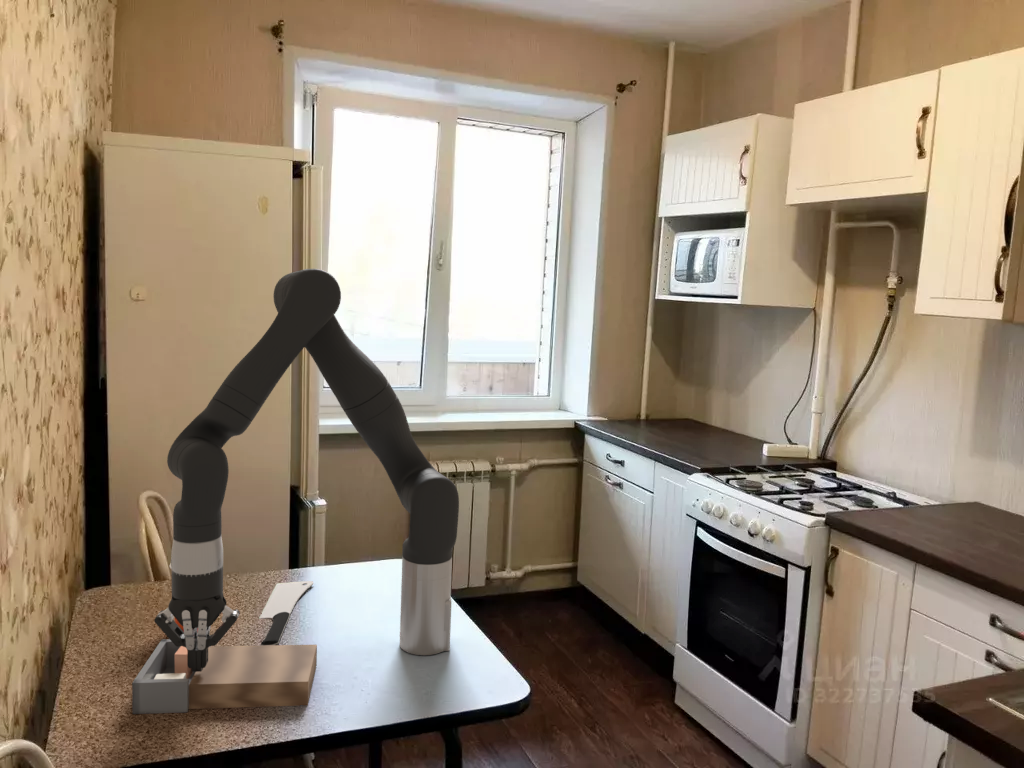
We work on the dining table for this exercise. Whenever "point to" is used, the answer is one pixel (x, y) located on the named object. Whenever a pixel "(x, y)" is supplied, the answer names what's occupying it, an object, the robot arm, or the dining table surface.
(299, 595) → the kitchen cleaver
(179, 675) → the cream block
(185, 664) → the terracotta tile
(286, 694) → the walnut board
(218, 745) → the dining table surface
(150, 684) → the box
